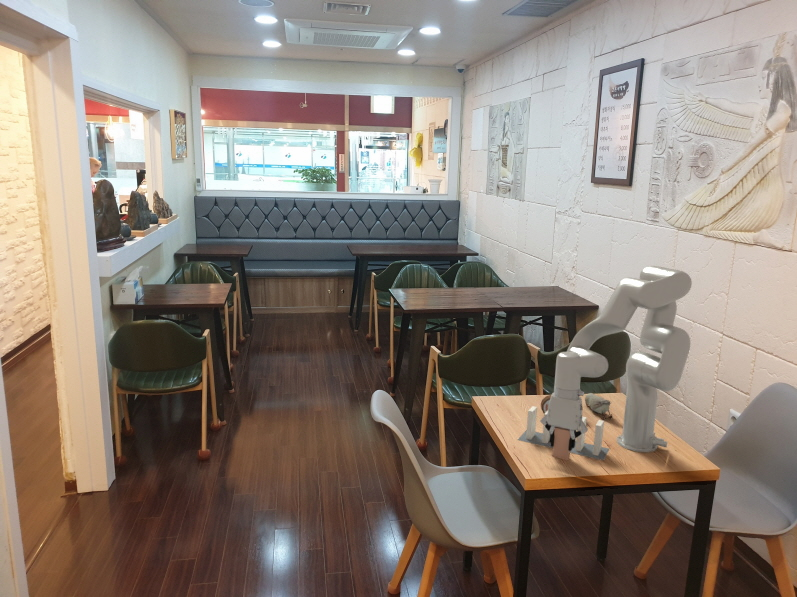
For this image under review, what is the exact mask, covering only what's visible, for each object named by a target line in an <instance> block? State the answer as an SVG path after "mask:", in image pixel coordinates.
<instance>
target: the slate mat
mask: <svg viewBox="0 0 797 597" xmlns="http://www.w3.org/2000/svg"><path fill="white" fill-rule="evenodd" d="M526 433H527V429H525V431H524V432H523V433H522V434H521V435H520V436H519V437H518V439H517V441H521V442H525V443H529V444H534V445H537V446H542V447H546V448H548V449H553V447H551V443H550V440H549V441H548V443H547V444H546V443H542V437H543V432H539V431H535V435H534V437H533V438H532V439H531V440H530V439H526ZM593 448H594V444H591V443H586V442H584V447H583V448H582V450H581V452H580V451H576V440H575V447H574V448H573V449H572V450H571V451H570V454H575V455H579V456H583V457H588V458H592V459H595V460H600V461H605V459H606V457H607V454H608V453H609V451H610V448H608V447H604V446H602V447H601V451H600V453H599V455H598V456H597V455H593Z"/></svg>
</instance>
